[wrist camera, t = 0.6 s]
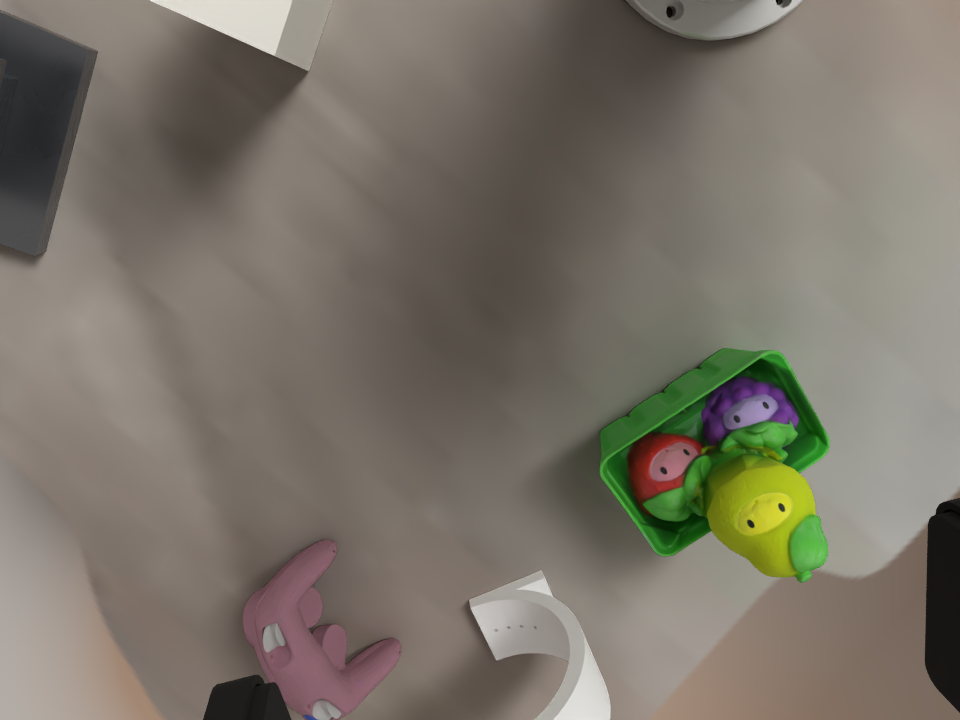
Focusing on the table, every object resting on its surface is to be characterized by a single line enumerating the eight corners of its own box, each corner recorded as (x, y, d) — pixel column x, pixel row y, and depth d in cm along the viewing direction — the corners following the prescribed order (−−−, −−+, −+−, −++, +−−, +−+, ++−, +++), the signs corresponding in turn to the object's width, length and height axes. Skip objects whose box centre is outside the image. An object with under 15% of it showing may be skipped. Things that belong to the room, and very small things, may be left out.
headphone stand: (468, 599, 46) (496, 758, 35) (556, 563, 46) (613, 710, 35) (494, 652, 48) (528, 820, 36) (579, 617, 48) (640, 775, 36)
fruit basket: (733, 316, 42) (851, 387, 32) (797, 427, 45) (924, 526, 35) (569, 426, 43) (630, 531, 33) (642, 528, 46) (719, 654, 36)
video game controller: (278, 539, 45) (211, 630, 39) (336, 529, 43) (274, 623, 37) (355, 651, 48) (303, 750, 43) (411, 647, 46) (365, 750, 40)
